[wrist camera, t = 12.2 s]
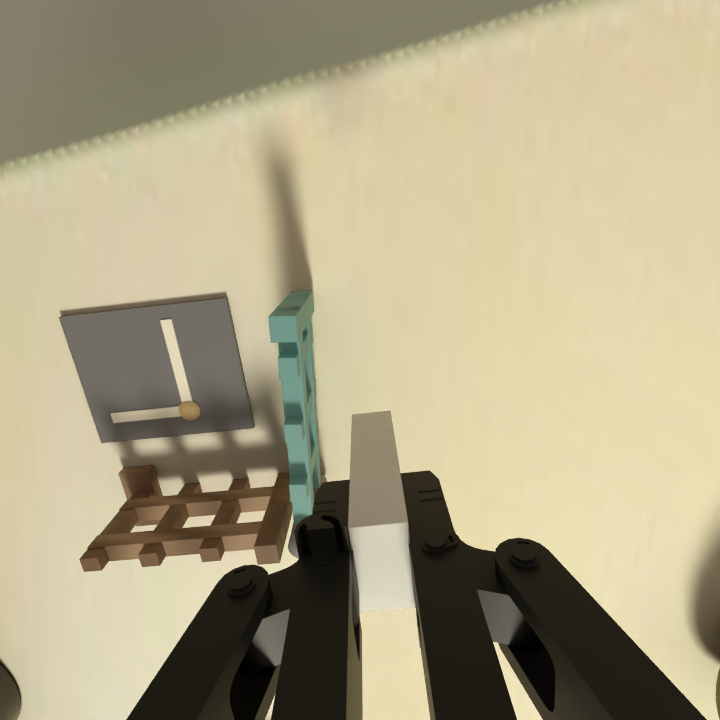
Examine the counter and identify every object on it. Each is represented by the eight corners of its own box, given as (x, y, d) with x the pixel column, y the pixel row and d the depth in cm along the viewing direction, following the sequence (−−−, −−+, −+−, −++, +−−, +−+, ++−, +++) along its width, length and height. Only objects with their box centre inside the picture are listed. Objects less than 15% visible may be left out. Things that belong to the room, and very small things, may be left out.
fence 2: (327, 490, 35) (316, 563, 28) (304, 491, 35) (288, 563, 28) (315, 290, 30) (299, 316, 23) (289, 291, 30) (264, 316, 23)
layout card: (103, 441, 34) (100, 443, 34) (61, 316, 31) (57, 317, 31) (254, 426, 34) (253, 428, 33) (227, 297, 31) (225, 298, 30)
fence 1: (140, 519, 37) (81, 601, 29) (123, 467, 35) (55, 539, 28) (302, 505, 36) (284, 585, 28) (292, 451, 34) (270, 520, 27)
